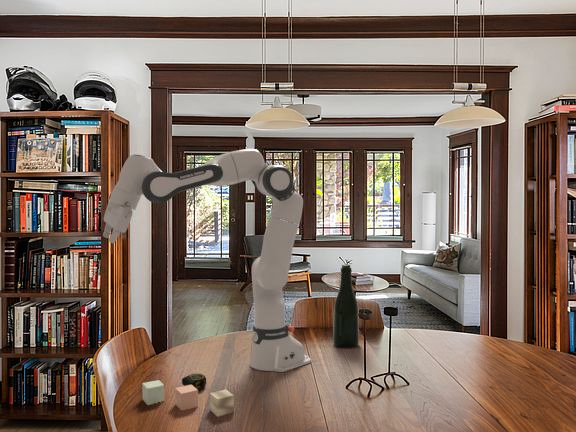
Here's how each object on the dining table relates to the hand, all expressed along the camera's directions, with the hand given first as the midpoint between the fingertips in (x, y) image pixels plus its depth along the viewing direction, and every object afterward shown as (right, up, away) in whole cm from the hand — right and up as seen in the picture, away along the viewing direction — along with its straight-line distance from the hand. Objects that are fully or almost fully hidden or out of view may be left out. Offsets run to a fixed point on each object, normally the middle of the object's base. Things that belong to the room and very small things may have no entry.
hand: (108, 239), depth 162 cm
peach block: (+29, -48, -18) cm, 59 cm away
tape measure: (+29, -47, -5) cm, 56 cm away
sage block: (+19, -47, -14) cm, 53 cm away
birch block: (+40, -48, -22) cm, 66 cm away
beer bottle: (+83, -45, +40) cm, 102 cm away
